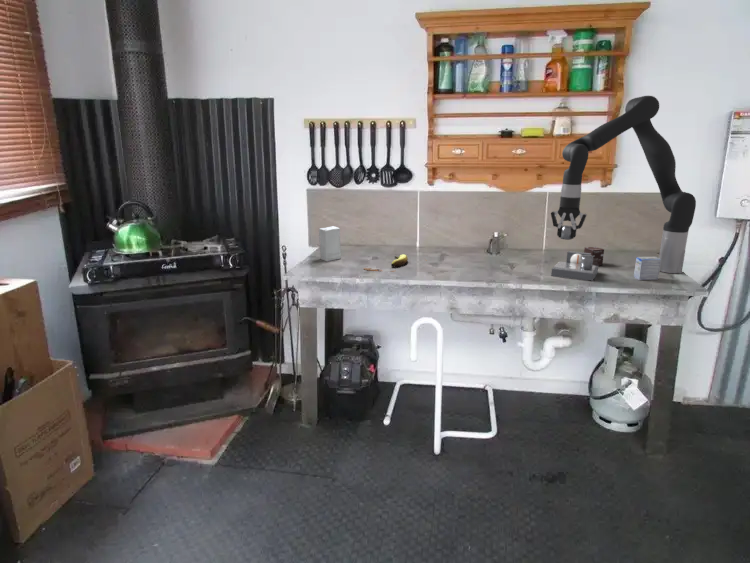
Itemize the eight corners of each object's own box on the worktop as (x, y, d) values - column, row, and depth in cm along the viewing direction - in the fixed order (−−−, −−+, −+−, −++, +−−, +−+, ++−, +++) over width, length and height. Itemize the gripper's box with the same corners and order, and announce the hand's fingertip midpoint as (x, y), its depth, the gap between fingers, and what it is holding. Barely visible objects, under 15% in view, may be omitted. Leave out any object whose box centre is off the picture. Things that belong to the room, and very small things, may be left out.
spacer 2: (591, 267, 215) (592, 255, 213) (592, 269, 211) (593, 257, 209) (579, 266, 216) (581, 254, 215) (580, 268, 212) (582, 256, 210)
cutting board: (419, 276, 218) (420, 267, 217) (357, 271, 226) (357, 263, 225) (435, 257, 251) (435, 249, 249) (380, 253, 258) (380, 245, 257)
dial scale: (597, 272, 221) (599, 254, 218) (592, 281, 209) (594, 261, 207) (558, 268, 228) (559, 250, 226) (551, 275, 216) (553, 257, 214)
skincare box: (334, 256, 250) (333, 225, 246) (341, 259, 245) (340, 227, 241) (319, 259, 245) (318, 227, 241) (326, 261, 241) (325, 229, 236)
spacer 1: (572, 238, 215) (574, 226, 213) (570, 240, 211) (572, 227, 210) (561, 237, 217) (562, 225, 215) (559, 238, 213) (560, 226, 212)
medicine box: (652, 277, 214) (655, 256, 212) (658, 280, 210) (661, 259, 207) (633, 277, 214) (636, 256, 211) (638, 280, 210) (642, 259, 207)
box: (590, 266, 231) (592, 250, 228) (582, 263, 236) (584, 247, 234) (602, 265, 232) (604, 249, 230) (593, 262, 238) (595, 246, 236)
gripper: (591, 195, 209) (586, 238, 214) (554, 193, 215) (549, 234, 220) (588, 197, 203) (583, 241, 207) (550, 195, 209) (546, 237, 214)
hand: (566, 237), depth 214 cm, fingers closed on spacer 1, 4 cm apart
